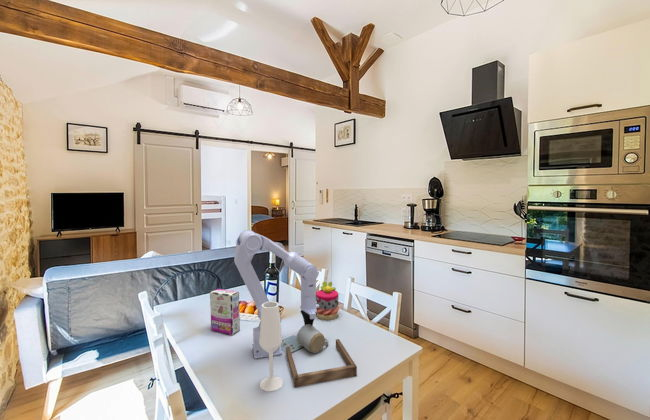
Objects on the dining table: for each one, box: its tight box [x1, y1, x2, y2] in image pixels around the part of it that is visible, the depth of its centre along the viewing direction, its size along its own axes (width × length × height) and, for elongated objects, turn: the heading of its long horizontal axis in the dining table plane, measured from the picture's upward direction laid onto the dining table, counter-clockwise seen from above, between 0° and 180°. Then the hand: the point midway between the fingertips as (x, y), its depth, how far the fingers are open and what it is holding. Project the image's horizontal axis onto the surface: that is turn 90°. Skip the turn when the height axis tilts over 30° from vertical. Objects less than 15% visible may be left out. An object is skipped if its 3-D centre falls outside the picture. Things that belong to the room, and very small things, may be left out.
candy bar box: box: [209, 288, 241, 336], centre depth 117 cm, size 11×5×16 cm, turn 68°
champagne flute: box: [259, 301, 284, 392], centre depth 84 cm, size 7×7×24 cm
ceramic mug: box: [296, 324, 329, 354], centre depth 105 cm, size 11×8×8 cm
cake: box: [316, 281, 340, 321], centre depth 131 cm, size 10×11×15 cm
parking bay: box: [285, 338, 358, 388], centre depth 94 cm, size 19×17×3 cm
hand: (308, 329), depth 109 cm, fingers closed
